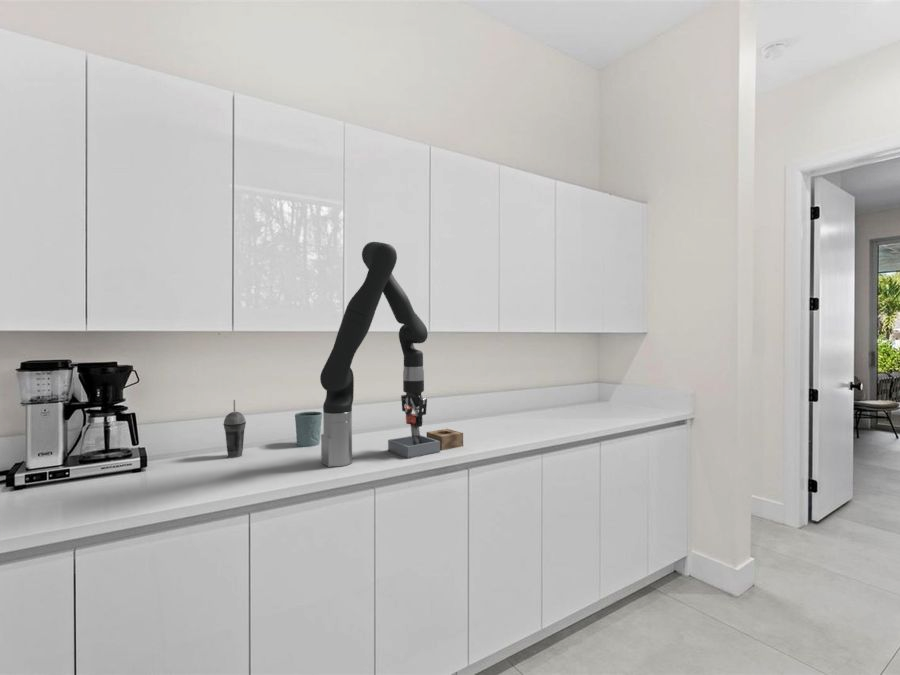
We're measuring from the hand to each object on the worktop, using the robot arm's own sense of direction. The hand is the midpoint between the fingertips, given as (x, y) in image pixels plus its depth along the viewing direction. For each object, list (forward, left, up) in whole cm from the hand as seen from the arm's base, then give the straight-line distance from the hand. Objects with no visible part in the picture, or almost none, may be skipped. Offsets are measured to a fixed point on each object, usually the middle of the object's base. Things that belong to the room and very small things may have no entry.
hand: (413, 424), depth 170 cm
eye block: (+14, 0, -10) cm, 17 cm away
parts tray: (0, 0, -10) cm, 10 cm away
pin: (+1, 0, -7) cm, 7 cm away
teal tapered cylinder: (-26, +35, -10) cm, 45 cm away
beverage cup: (-53, +34, -10) cm, 64 cm away
